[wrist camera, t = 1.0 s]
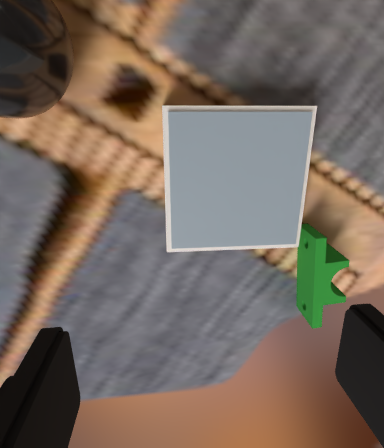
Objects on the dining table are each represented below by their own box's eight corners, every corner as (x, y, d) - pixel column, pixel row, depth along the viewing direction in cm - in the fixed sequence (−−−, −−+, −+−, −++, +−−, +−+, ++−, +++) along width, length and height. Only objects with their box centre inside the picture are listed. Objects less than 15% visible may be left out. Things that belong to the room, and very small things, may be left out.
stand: (162, 106, 29) (162, 105, 26) (302, 106, 30) (318, 105, 27) (166, 240, 33) (166, 253, 30) (287, 236, 35) (299, 248, 32)
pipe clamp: (323, 300, 39) (343, 324, 34) (295, 304, 38) (312, 328, 34) (329, 219, 35) (352, 234, 30) (297, 223, 34) (316, 239, 30)
